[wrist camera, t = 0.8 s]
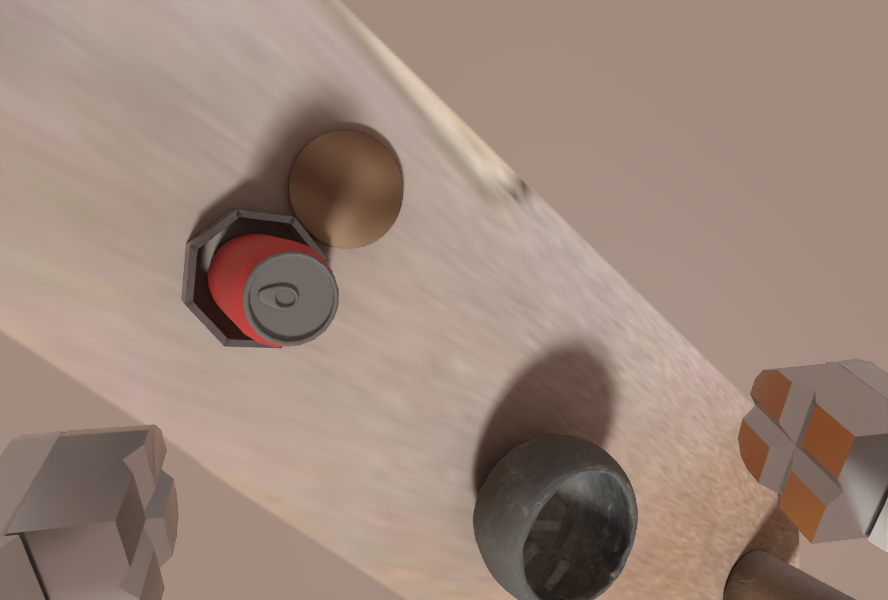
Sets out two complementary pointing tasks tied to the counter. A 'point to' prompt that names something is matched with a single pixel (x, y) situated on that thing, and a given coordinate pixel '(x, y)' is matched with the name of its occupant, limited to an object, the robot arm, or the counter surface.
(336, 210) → the walnut coaster
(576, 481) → the bowl
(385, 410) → the counter surface
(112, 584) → the robot arm
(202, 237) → the can collar
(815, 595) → the pillar candle
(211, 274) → the beer can
